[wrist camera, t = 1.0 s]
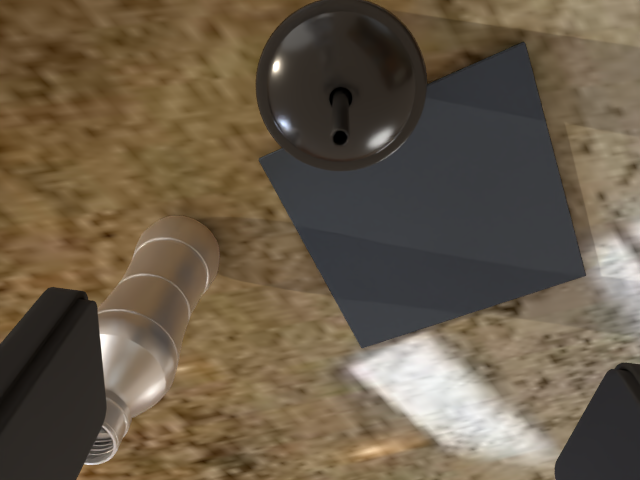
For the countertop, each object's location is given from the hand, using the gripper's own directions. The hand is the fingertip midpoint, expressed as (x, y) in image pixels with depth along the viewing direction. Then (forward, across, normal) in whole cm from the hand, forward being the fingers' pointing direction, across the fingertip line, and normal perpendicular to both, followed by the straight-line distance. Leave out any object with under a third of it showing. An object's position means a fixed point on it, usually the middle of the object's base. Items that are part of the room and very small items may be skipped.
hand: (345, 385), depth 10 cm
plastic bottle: (+30, +10, +16) cm, 36 cm away
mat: (+30, -9, +11) cm, 33 cm away
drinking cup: (+30, 0, -1) cm, 30 cm away
